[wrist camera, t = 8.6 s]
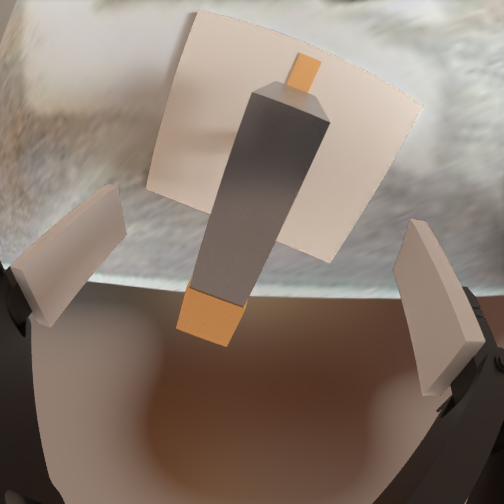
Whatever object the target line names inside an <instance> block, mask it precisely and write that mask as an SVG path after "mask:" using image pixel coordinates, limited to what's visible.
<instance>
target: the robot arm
mask: <svg viewBox="0 0 504 504" xmlns="http://www.w3.org/2000/svg"><path fill="white" fill-rule="evenodd" d="M126 235H127V233H126V228H125V223H124V218H123V212H122V207H121V201H120V195H119V188H118V185H104V186H103V187H101V188H100V189H99V190H97V191H96V192H95V193H93V194H92V195H91V196H89V197H88V198H87V199H86V200H84V201H83V202H82V203H81V204H79V205H78V206H77V207H75V208H74V209H73V210H72V211H71V212H69V213H68V214H67V215H66V216H64V217H63V218H62V219H61V220H60V221H59V222H57V223H56V224H55V225H54V226H53V227H51V228H50V229H49V230H48V231H47V232H46V233H45V234H44V235H42V236H41V237H40V238H39V239H38V240H37V241H36V242H35V243H34V244H32V245H31V246H30V247H29V248H28V249H27V250H26V251H25V252H24V253H23V254H22V255H21V256H20V257H19V258H18V259H17V260H16V261H15V262H14V263H13V264H12V265H11V266H10V267H9V268H8V269H7V270H6V271H5V270H4V268H3V266H2V263H1V261H0V504H65V503H64V501H63V498H62V496H61V495H60V493H59V492H58V490H57V489H56V488H55V487H54V485H53V484H52V482H51V480H50V478H49V474H48V471H47V466H46V462H45V458H44V453H43V448H42V443H41V438H40V433H39V427H38V421H37V414H36V406H35V397H34V387H33V374H32V355H31V322H30V319H29V317H28V316H29V315H30V314H31V312H33V314H34V316H35V318H36V320H37V321H38V323H40V324H42V325H45V326H47V327H50V328H51V327H52V325H53V324H54V323H55V321H56V320H57V319H58V317H59V316H60V315H61V313H62V312H63V311H64V309H65V308H66V307H67V305H68V304H69V303H70V302H71V300H72V299H73V298H74V296H75V295H76V294H77V293H78V291H79V290H80V289H81V288H82V286H83V285H84V284H85V283H86V282H87V280H88V279H89V278H90V277H91V275H92V274H93V273H94V272H95V271H96V269H97V268H98V267H99V266H100V265H101V264H102V262H103V261H104V260H105V259H106V258H107V257H108V255H109V254H110V253H111V252H112V251H113V250H114V249H115V247H116V246H117V245H118V244H119V243H120V242H121V241H122V240H123V238H124V237H125V236H126ZM393 272H394V275H395V279H396V282H397V286H398V289H399V293H400V296H401V300H402V303H403V307H404V311H405V315H406V318H407V323H408V327H409V331H410V335H411V340H412V344H413V349H414V353H415V358H416V363H417V368H418V374H419V379H420V385H421V391H422V396H431V395H441V394H443V392H444V391H445V390H446V389H447V388H448V387H449V386H450V385H451V390H452V395H451V396H450V397H449V398H448V399H447V400H446V401H445V402H444V403H443V404H442V406H440V407H439V408H438V409H437V410H436V411H437V412H439V411H440V410H441V409H442V410H441V412H440V413H439V415H438V417H437V418H436V420H435V422H434V423H433V425H432V426H431V428H430V429H429V431H428V432H427V434H426V436H425V437H424V439H423V440H422V441H421V443H420V445H419V446H418V447H417V449H416V450H415V452H414V453H413V454H412V456H411V457H410V458H409V460H408V461H407V463H406V464H405V465H404V467H403V468H402V469H401V470H400V472H399V473H398V474H397V475H396V477H395V478H394V479H393V480H392V482H391V483H390V484H389V485H388V486H387V488H386V489H385V490H384V491H383V492H382V493H381V495H380V496H379V497H378V498H377V499H376V500H375V501H374V502H373V504H464V503H465V502H466V499H467V498H468V500H467V503H466V504H504V349H503V348H499V347H497V344H496V342H495V340H494V337H493V335H492V332H491V330H490V328H489V325H488V323H487V321H486V318H484V314H483V312H482V310H481V309H480V305H479V303H478V301H477V299H476V297H475V296H474V295H473V294H472V292H471V291H470V290H469V289H468V288H467V287H462V286H461V284H460V282H459V280H458V278H457V276H456V274H455V272H454V270H453V268H452V266H451V265H450V263H449V261H448V259H447V257H446V255H445V253H444V252H443V250H442V248H441V246H440V244H439V243H438V241H437V239H436V238H435V236H434V234H433V232H432V231H431V229H430V227H429V226H428V224H427V222H426V221H422V220H417V219H412V218H410V221H409V225H408V228H407V231H406V234H405V237H404V240H403V243H402V246H401V249H400V252H399V255H398V257H397V260H396V263H395V266H394V268H393ZM468 496H469V497H468Z"/></svg>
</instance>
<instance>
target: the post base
mask: <svg viewBox="0 0 504 504" xmlns="http://www.w3.org/2000/svg"><path fill="white" fill-rule="evenodd" d="M274 81H278V82H281V83H284V84H286V85H289V86H292V87H294V88H297V89H299V90H302V91H304V92H307V93H309V94H312V95H314V96H316V97H317V99H318V101H319V103H320V104H321V106H322V108H323V110H324V112H325V113H326V115H327V117H328V119H329V121H330V125H329V127H328V129H327V131H326V134H325V136H324V138H323V140H322V142H321V145H320V147H319V149H318V151H317V153H316V155H315V158H314V160H313V162H312V164H311V166H310V168H309V171H308V173H307V175H306V177H305V179H304V181H303V184H302V186H301V188H300V190H299V192H298V194H297V196H296V199H295V201H294V203H293V205H292V207H291V209H290V211H289V214H288V216H287V218H286V220H285V222H284V224H283V226H282V228H281V231H280V233H279V235H278V237H277V239H276V241H277V242H280V243H282V244H284V245H287V246H289V247H292V248H294V249H297V250H299V251H301V252H304V253H306V254H309V255H311V256H313V257H316V258H318V259H321V260H323V261H325V262H328V263H330V262H331V261H332V259H333V258H334V256H335V255H336V253H337V252H338V250H339V249H340V247H341V246H342V244H343V243H344V241H345V240H346V238H347V237H348V235H349V233H350V232H351V230H352V229H353V227H354V226H355V224H356V222H357V221H358V219H359V218H360V216H361V214H362V213H363V211H364V210H365V208H366V206H367V205H368V203H369V201H370V200H371V198H372V196H373V195H374V193H375V191H376V190H377V188H378V186H379V185H380V183H381V181H382V180H383V178H384V176H385V174H386V173H387V171H388V169H389V168H390V166H391V164H392V162H393V161H394V159H395V157H396V155H397V154H398V152H399V150H400V148H401V146H402V145H403V143H404V141H405V139H406V137H407V135H408V134H409V132H410V130H411V128H412V126H413V124H414V122H415V120H416V119H417V117H418V115H419V113H420V111H421V109H422V107H423V105H422V104H420V103H419V102H417V101H416V100H414V99H412V98H411V97H409V96H408V95H406V94H405V93H403V92H401V91H400V90H398V89H397V88H395V87H393V86H392V85H390V84H388V83H386V82H385V81H383V80H381V79H380V78H378V77H376V76H374V75H372V74H371V73H369V72H367V71H365V70H363V69H361V68H359V67H357V66H355V65H353V64H351V63H349V62H347V61H345V60H343V59H341V58H339V57H337V56H335V55H333V54H331V53H328V52H326V51H324V50H322V49H319V48H317V47H315V46H312V45H310V44H308V43H305V42H303V41H300V40H298V39H295V38H292V37H290V36H287V35H284V34H282V33H279V32H276V31H273V30H270V29H267V28H264V27H261V26H258V25H255V24H251V23H248V22H245V21H241V20H238V19H234V18H230V17H226V16H222V15H218V14H214V13H210V12H205V11H201V10H198V13H197V15H196V18H195V20H194V23H193V25H192V28H191V31H190V33H189V36H188V39H187V41H186V44H185V47H184V50H183V53H182V55H181V58H180V61H179V64H178V67H177V70H176V73H175V76H174V80H173V83H172V86H171V89H170V93H169V96H168V99H167V103H166V106H165V110H164V113H163V117H162V121H161V124H160V128H159V132H158V136H157V140H156V144H155V148H154V152H153V157H152V161H151V166H150V170H149V175H148V179H147V184H146V190H149V191H152V192H154V193H157V194H159V195H162V196H164V197H167V198H170V199H172V200H175V201H177V202H180V203H182V204H185V205H188V206H190V207H193V208H195V209H198V210H200V211H203V212H205V213H208V214H211V211H212V208H213V205H214V202H215V198H216V195H217V192H218V189H219V186H220V183H221V180H222V177H223V174H224V170H225V167H226V164H227V161H228V158H229V155H230V152H231V150H232V147H233V144H234V141H235V138H236V135H237V132H238V129H239V126H240V123H241V121H242V118H243V115H244V112H245V109H246V107H247V104H248V101H249V98H250V96H251V93H252V92H253V91H255V90H257V89H259V88H261V87H263V86H266V85H268V84H270V83H272V82H274Z"/></svg>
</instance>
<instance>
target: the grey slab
mask: <svg viewBox="0 0 504 504" xmlns="http://www.w3.org/2000/svg"><path fill="white" fill-rule="evenodd" d="M329 125H330V121H329V119H328V117H327V115H326V113H325V112H324V110H323V108H322V106H321V104H320V103H319V101H318V99H317V97H316V96H314V95H312V94H309V93H307V92H304V91H302V90H299V89H297V88H294V87H292V86H289V85H286V84H284V83H281V82H278V81H274V82H272V83H270V84H268V85H266V86H263V87H261V88H259V89H257V90H255V91H253V92H252V93H251V96H250V98H249V101H248V104H247V107H246V109H245V112H244V115H243V118H242V121H241V123H240V126H239V129H238V132H237V135H236V138H235V141H234V144H233V147H232V150H231V152H230V155H229V158H228V161H227V164H226V167H225V170H224V174H223V177H222V180H221V183H220V186H219V189H218V192H217V195H216V198H215V202H214V205H213V208H212V211H211V214H210V218H209V221H208V224H207V228H206V231H205V234H204V238H203V241H202V244H201V248H200V251H199V255H198V258H197V262H196V265H195V269H194V272H193V275H192V277H191V279H190V281H189V283H188V285H187V288H186V292H185V296H184V300H183V303H182V307H181V311H180V315H179V319H178V323H177V327H176V328H177V329H179V330H181V331H184V332H186V333H189V334H192V335H194V336H197V337H200V338H203V339H205V340H208V341H211V342H214V343H217V344H219V345H222V346H225V347H227V345H228V343H229V341H230V339H231V337H232V335H233V333H234V331H235V329H236V327H237V325H238V323H239V321H240V319H241V317H242V315H243V313H244V311H245V309H246V306H247V301H248V297H249V295H250V293H251V291H252V289H253V287H254V285H255V283H256V281H257V279H258V277H259V275H260V272H261V270H262V268H263V266H264V264H265V262H266V260H267V258H268V256H269V254H270V252H271V249H272V247H273V245H274V243H275V241H276V239H277V237H278V235H279V233H280V231H281V228H282V226H283V224H284V222H285V220H286V218H287V216H288V214H289V211H290V209H291V207H292V205H293V203H294V201H295V199H296V196H297V194H298V192H299V190H300V188H301V186H302V184H303V181H304V179H305V177H306V175H307V173H308V171H309V168H310V166H311V164H312V162H313V160H314V158H315V155H316V153H317V151H318V149H319V147H320V145H321V142H322V140H323V138H324V136H325V134H326V131H327V129H328V127H329Z"/></svg>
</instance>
